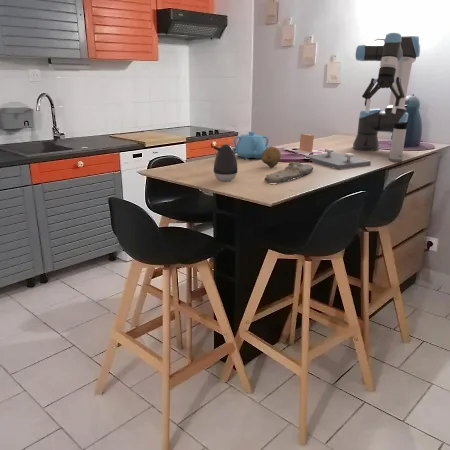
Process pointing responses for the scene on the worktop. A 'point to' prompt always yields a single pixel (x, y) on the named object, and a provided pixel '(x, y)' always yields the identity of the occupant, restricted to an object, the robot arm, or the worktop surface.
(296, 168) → the long grey stone
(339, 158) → the boss board
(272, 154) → the brown round lump
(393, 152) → the travel mug
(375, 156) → the worktop surface
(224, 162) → the pump dispenser
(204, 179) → the worktop surface
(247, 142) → the decorative pot
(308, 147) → the keyhole plate
